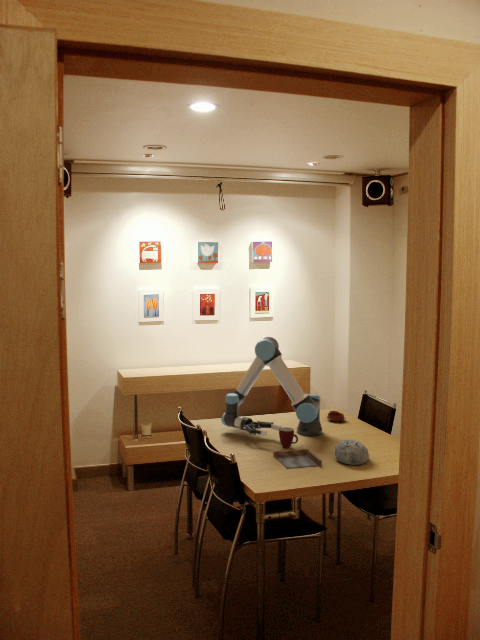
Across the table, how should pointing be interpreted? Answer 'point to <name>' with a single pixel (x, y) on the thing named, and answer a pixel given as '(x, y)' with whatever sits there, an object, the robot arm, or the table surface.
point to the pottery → (335, 416)
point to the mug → (287, 436)
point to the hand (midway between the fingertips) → (273, 431)
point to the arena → (297, 458)
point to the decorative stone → (351, 452)
